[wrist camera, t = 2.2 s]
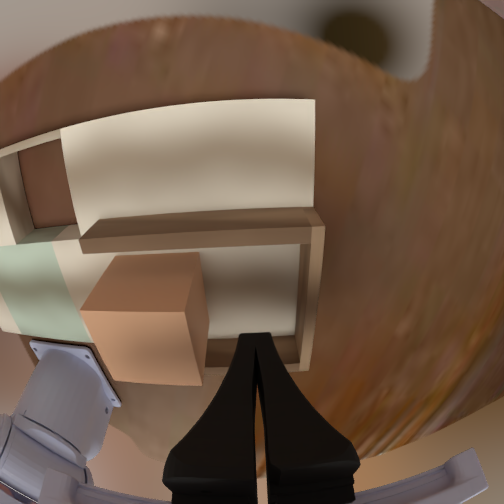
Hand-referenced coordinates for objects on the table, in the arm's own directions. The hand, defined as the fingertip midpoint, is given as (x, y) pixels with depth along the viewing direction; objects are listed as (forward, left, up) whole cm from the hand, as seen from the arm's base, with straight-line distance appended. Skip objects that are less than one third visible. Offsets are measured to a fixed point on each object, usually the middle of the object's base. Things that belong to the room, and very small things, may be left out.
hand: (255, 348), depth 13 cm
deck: (+3, +10, -7) cm, 12 cm away
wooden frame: (0, +3, -5) cm, 5 cm away
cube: (0, +5, -5) cm, 7 cm away
